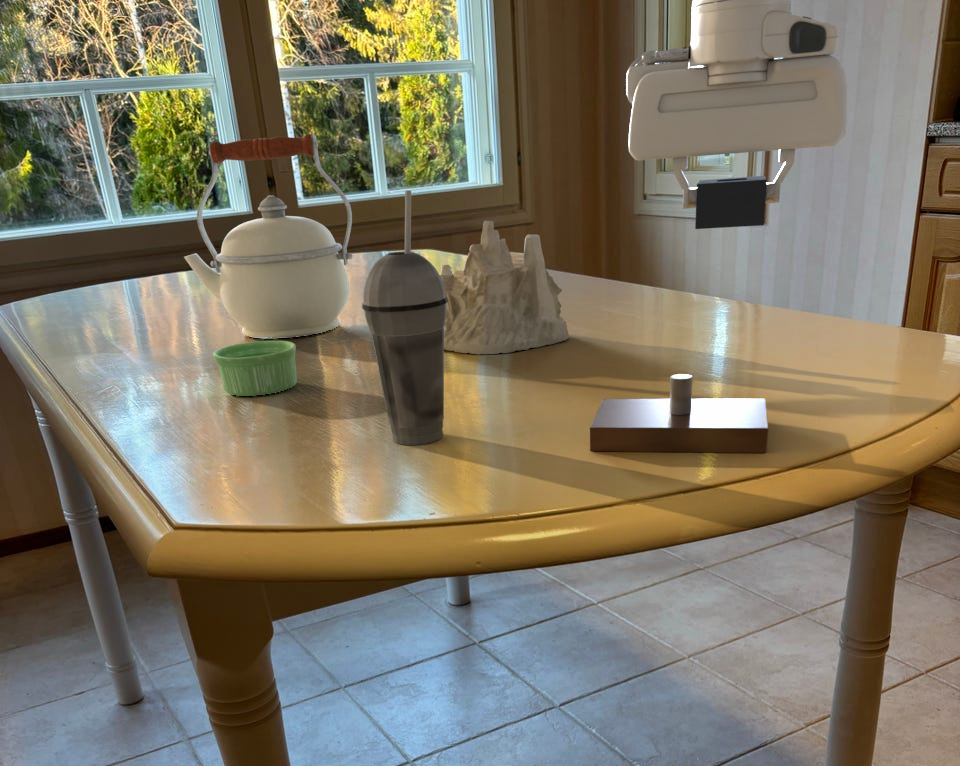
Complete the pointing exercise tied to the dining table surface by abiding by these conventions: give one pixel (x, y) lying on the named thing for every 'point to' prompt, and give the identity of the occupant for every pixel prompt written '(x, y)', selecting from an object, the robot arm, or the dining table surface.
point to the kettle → (276, 255)
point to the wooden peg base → (680, 423)
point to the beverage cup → (408, 339)
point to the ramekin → (257, 367)
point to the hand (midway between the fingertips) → (730, 205)
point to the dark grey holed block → (730, 202)
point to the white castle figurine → (501, 299)
